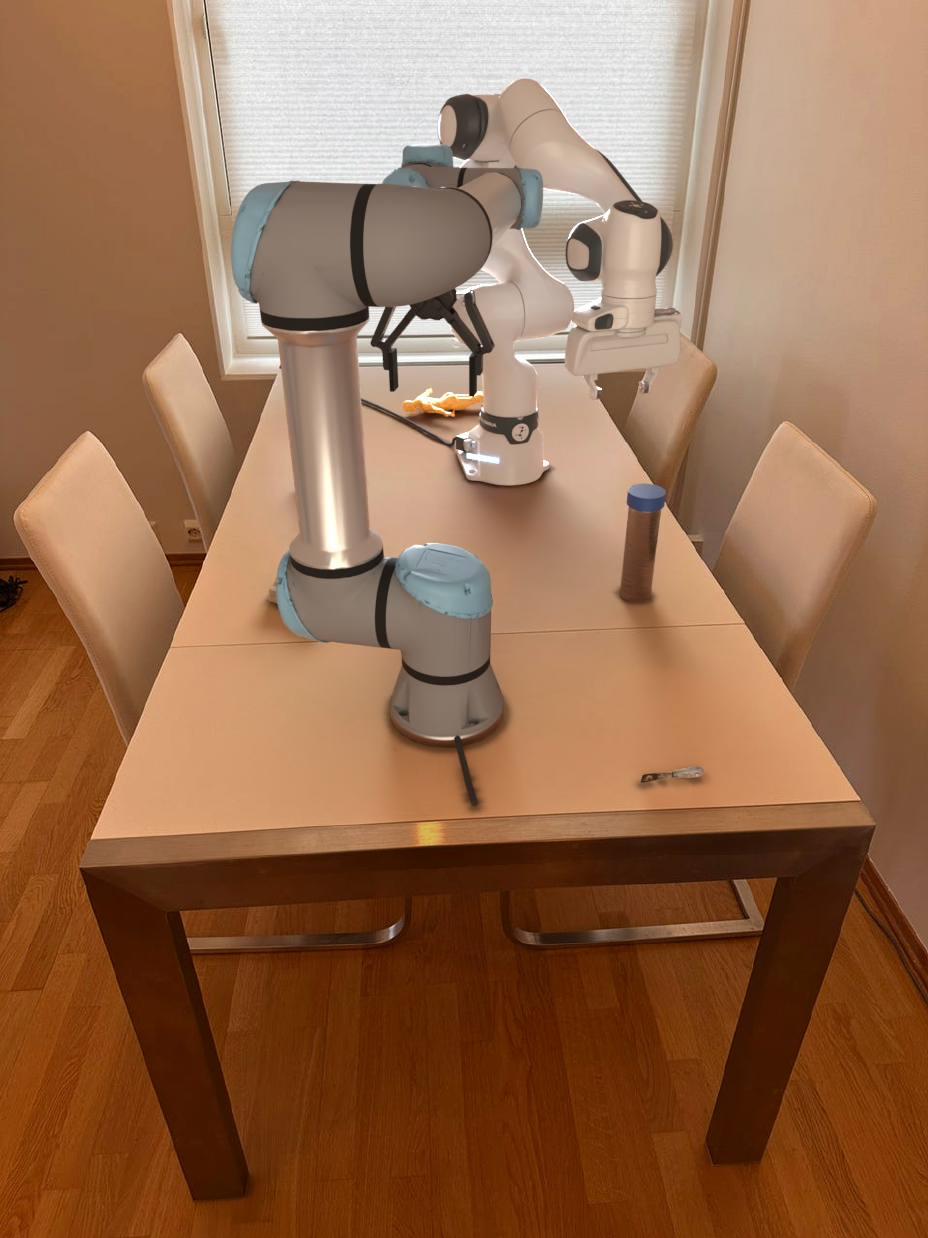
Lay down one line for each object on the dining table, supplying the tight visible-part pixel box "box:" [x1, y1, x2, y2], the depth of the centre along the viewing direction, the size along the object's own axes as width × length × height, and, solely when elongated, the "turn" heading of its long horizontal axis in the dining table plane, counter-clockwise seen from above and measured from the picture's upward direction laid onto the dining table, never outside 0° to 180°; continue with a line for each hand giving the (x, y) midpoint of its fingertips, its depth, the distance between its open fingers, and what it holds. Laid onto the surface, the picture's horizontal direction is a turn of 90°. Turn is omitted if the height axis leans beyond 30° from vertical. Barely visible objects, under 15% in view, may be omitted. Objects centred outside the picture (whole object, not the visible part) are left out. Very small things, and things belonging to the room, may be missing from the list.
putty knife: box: [640, 765, 705, 784], centre depth 109 cm, size 1×8×2 cm, turn 103°
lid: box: [626, 483, 667, 512], centre depth 138 cm, size 6×6×2 cm
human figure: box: [402, 385, 483, 418], centre depth 225 cm, size 20×20×4 cm
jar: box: [619, 506, 662, 603], centre depth 143 cm, size 5×5×18 cm
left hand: (433, 391), depth 149 cm, fingers open, 13 cm apart
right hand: (620, 395), depth 152 cm, fingers open, 8 cm apart
